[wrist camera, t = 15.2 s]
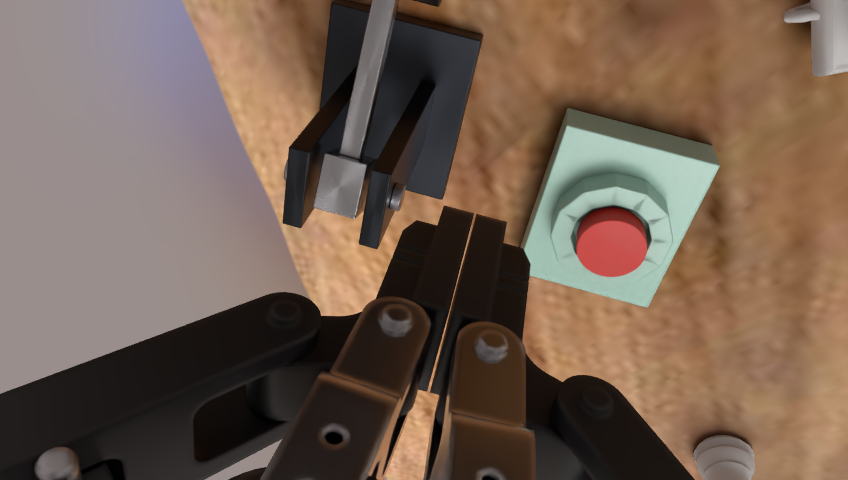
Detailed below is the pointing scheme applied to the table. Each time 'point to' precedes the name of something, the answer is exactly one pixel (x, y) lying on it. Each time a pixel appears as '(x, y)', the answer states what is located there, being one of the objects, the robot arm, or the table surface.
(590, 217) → the button
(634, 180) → the button box
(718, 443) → the rook chess piece
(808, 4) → the stamp
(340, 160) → the lever
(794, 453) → the table surface
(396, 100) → the bracket
